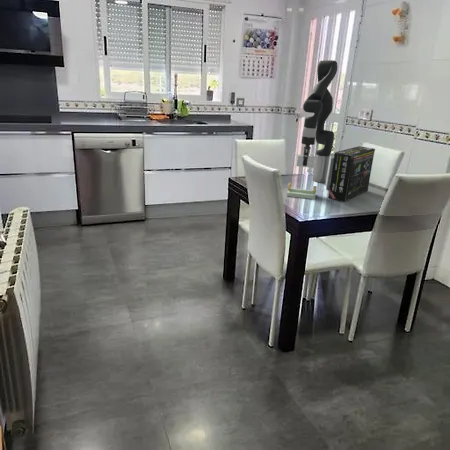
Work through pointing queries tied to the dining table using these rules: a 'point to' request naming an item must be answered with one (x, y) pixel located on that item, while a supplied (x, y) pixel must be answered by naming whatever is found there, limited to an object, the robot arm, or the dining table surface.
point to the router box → (351, 173)
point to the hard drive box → (329, 171)
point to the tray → (301, 192)
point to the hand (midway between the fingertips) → (305, 164)
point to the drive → (309, 162)
